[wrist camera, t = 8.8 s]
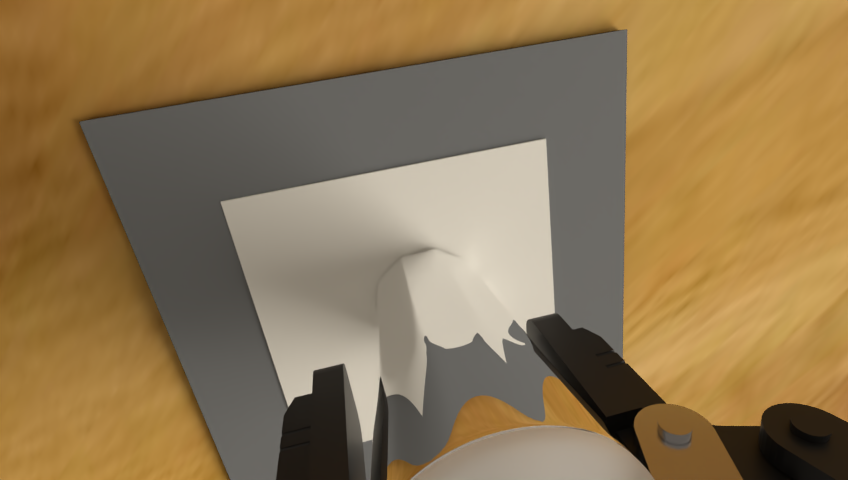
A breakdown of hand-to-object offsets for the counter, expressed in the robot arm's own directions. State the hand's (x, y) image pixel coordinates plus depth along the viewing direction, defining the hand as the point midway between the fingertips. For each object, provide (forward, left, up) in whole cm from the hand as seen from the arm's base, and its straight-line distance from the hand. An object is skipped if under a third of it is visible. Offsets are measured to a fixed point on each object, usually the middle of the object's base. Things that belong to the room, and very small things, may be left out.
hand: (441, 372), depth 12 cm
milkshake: (0, 0, -3) cm, 3 cm away
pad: (0, 0, -4) cm, 4 cm away
